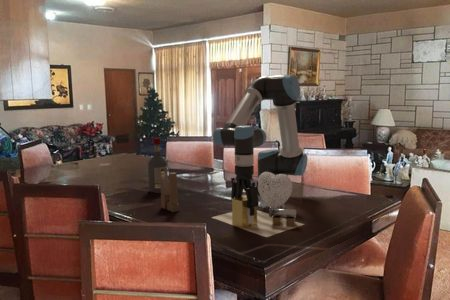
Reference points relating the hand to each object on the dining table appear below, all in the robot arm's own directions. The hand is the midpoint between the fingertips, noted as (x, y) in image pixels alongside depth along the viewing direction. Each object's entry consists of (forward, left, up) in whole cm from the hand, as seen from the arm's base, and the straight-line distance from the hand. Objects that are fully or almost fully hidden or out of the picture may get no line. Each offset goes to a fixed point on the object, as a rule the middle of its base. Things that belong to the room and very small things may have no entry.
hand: (244, 221), depth 161 cm
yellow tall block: (0, 0, -2) cm, 2 cm away
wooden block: (+9, -42, -3) cm, 43 cm away
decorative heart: (-27, -9, -3) cm, 29 cm away
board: (-7, 0, -2) cm, 7 cm away
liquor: (-6, -78, -3) cm, 78 cm away
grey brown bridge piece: (-12, +10, -2) cm, 16 cm away
